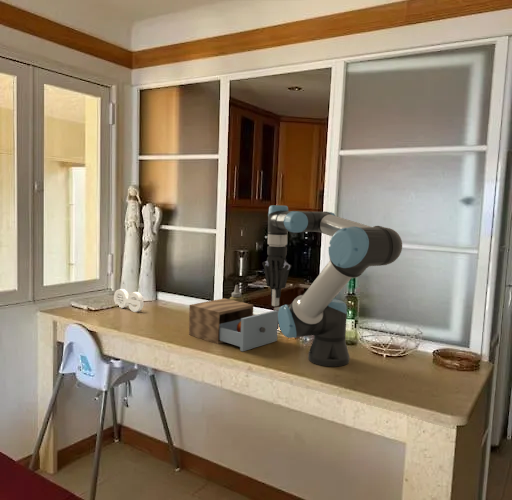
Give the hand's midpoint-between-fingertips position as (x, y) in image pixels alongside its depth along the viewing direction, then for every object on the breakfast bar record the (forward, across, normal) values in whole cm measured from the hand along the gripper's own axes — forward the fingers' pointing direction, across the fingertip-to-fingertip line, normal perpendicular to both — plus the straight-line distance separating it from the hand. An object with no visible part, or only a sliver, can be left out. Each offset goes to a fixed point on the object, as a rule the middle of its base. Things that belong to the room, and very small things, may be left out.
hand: (275, 305), depth 187 cm
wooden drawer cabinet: (+18, +30, 0) cm, 35 cm away
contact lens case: (+18, +96, +2) cm, 98 cm away
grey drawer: (+18, +16, 0) cm, 24 cm away
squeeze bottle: (+18, +40, -20) cm, 49 cm away
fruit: (+16, +15, 0) cm, 22 cm away
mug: (+18, +16, -24) cm, 34 cm away
